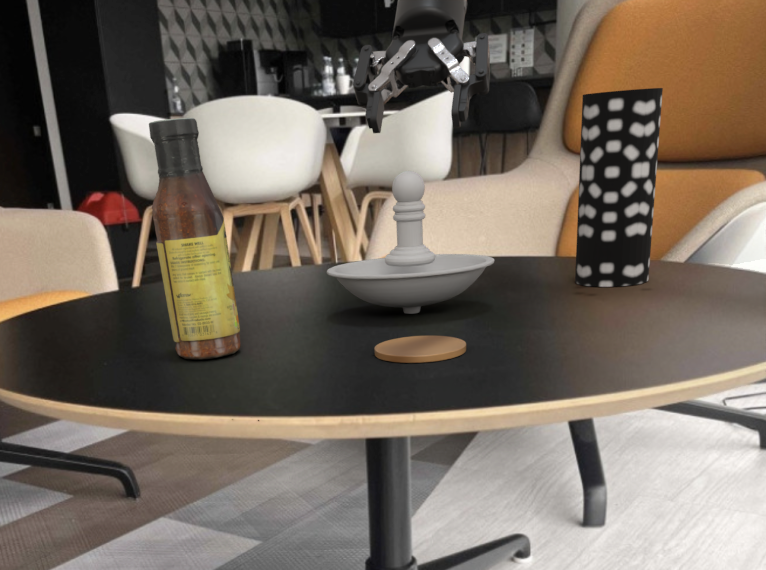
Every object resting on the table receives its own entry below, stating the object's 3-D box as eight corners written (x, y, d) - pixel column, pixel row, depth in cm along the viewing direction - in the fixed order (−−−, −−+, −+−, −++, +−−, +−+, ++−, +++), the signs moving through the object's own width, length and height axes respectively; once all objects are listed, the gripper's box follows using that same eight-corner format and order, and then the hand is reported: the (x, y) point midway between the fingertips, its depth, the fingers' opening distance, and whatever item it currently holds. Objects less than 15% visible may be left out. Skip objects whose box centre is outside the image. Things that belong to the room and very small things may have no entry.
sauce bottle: (256, 351, 81) (229, 114, 73) (202, 365, 77) (168, 117, 69) (213, 343, 86) (183, 120, 77) (160, 357, 82) (123, 123, 73)
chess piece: (444, 263, 90) (442, 169, 86) (396, 269, 89) (393, 173, 85) (422, 258, 95) (420, 168, 91) (377, 263, 93) (372, 172, 89)
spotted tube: (652, 275, 105) (666, 88, 96) (643, 286, 98) (658, 87, 90) (582, 275, 108) (589, 95, 100) (568, 287, 101) (576, 94, 93)
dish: (337, 332, 86) (334, 280, 84) (324, 308, 99) (320, 262, 97) (511, 317, 88) (511, 265, 86) (475, 295, 101) (475, 249, 99)
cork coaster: (475, 342, 78) (475, 335, 78) (454, 364, 72) (453, 356, 71) (390, 341, 81) (390, 335, 81) (362, 362, 74) (361, 355, 74)
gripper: (361, -16, 94) (340, 101, 89) (494, -32, 90) (480, 89, 85) (375, 44, 101) (356, 156, 96) (499, 31, 97) (486, 147, 92)
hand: (415, 124), depth 91 cm, fingers open, 8 cm apart
